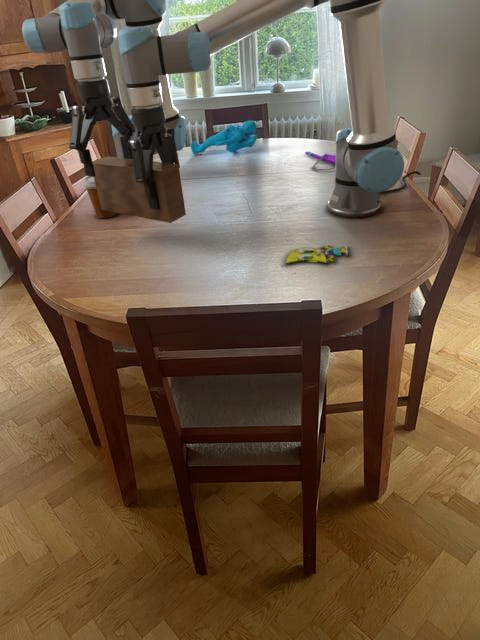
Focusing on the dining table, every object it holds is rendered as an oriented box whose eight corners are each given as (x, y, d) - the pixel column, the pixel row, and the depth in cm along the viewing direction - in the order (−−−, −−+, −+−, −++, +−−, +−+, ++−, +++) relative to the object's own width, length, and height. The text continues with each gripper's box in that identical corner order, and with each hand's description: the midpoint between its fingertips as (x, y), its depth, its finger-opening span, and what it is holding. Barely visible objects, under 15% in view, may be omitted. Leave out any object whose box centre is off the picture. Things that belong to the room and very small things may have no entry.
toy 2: (349, 261, 112) (285, 261, 114) (349, 264, 113) (285, 265, 115) (347, 243, 120) (287, 244, 123) (346, 246, 121) (287, 247, 123)
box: (101, 209, 133) (89, 162, 126) (117, 202, 137) (107, 156, 130) (170, 223, 120) (161, 171, 113) (186, 214, 124) (178, 164, 117)
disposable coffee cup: (85, 218, 153) (75, 181, 146) (103, 208, 160) (94, 172, 154) (110, 221, 150) (101, 182, 143) (127, 210, 157) (119, 173, 150)
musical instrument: (342, 175, 173) (362, 153, 185) (341, 169, 172) (361, 148, 184) (283, 174, 186) (305, 153, 198) (282, 169, 184) (305, 148, 196)
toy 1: (195, 134, 218) (257, 114, 208) (203, 157, 223) (264, 139, 213) (184, 143, 204) (250, 123, 194) (193, 168, 209) (257, 149, 199)
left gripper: (58, 87, 105) (83, 183, 116) (138, 72, 121) (153, 157, 133) (37, 87, 108) (63, 180, 120) (118, 72, 125) (134, 155, 137)
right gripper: (128, 115, 101) (148, 219, 114) (186, 98, 114) (198, 193, 127) (104, 114, 105) (126, 214, 118) (162, 98, 118) (176, 190, 130)
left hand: (110, 168), depth 126 cm, fingers open, 13 cm apart
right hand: (163, 203), depth 122 cm, fingers closed on box, 6 cm apart
